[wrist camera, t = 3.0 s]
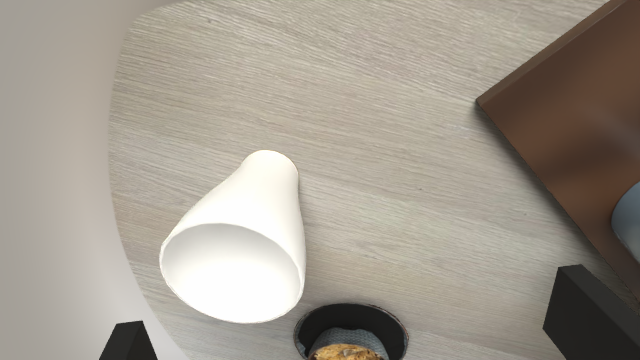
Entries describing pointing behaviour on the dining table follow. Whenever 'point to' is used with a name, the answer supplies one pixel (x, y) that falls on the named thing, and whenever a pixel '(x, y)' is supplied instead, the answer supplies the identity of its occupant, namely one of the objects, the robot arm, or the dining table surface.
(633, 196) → the slate cup
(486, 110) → the walnut board
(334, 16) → the dining table surface
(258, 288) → the cup
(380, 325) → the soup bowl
